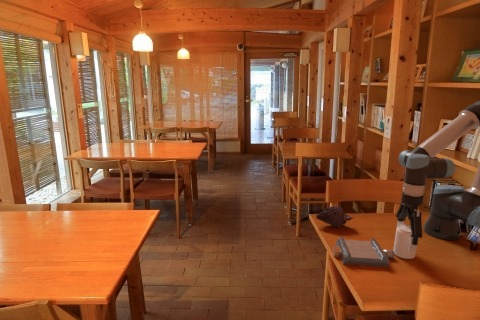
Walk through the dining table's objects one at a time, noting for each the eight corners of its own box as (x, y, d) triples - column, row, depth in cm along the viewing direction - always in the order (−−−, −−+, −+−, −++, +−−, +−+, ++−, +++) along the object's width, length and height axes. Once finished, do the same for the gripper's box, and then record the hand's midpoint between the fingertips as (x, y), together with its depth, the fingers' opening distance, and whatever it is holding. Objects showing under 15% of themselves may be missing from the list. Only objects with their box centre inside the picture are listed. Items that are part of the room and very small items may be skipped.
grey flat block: (386, 248, 142) (387, 238, 141) (399, 267, 128) (400, 257, 127) (330, 245, 144) (330, 235, 143) (336, 263, 130) (337, 253, 129)
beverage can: (417, 261, 133) (421, 233, 130) (395, 258, 134) (399, 231, 132) (411, 251, 141) (415, 224, 138) (390, 249, 142) (394, 222, 139)
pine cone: (317, 229, 159) (318, 209, 157) (313, 221, 169) (314, 202, 166) (354, 230, 159) (356, 211, 156) (348, 222, 168) (350, 203, 166)
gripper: (391, 183, 144) (385, 229, 149) (416, 204, 120) (407, 258, 125) (410, 184, 143) (403, 230, 148) (438, 205, 119) (429, 259, 124)
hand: (405, 243), depth 136 cm, fingers open, 13 cm apart
